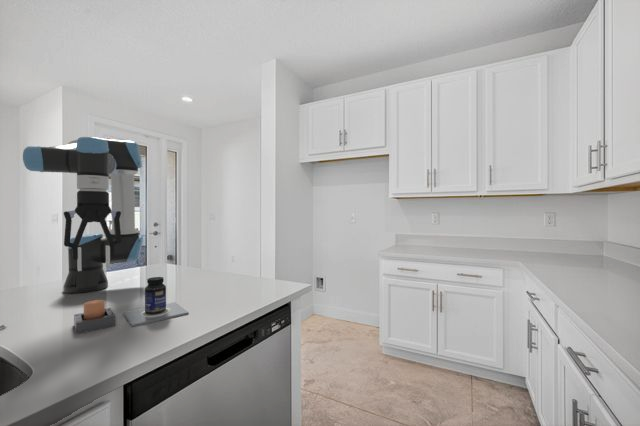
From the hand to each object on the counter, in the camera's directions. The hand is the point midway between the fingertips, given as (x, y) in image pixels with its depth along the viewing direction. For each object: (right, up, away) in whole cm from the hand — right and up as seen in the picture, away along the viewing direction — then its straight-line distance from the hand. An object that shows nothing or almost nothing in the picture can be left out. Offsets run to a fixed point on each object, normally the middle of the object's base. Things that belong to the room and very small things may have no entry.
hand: (94, 268), depth 89 cm
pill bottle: (+13, -16, +10) cm, 23 cm away
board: (+13, -17, +10) cm, 23 cm away
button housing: (0, -17, 0) cm, 17 cm away
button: (0, -15, 0) cm, 15 cm away
